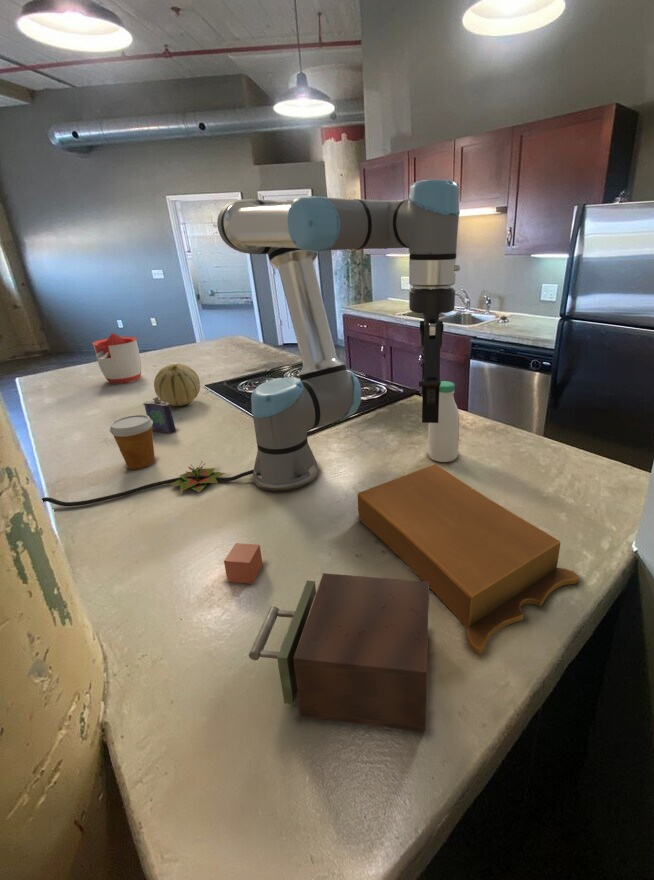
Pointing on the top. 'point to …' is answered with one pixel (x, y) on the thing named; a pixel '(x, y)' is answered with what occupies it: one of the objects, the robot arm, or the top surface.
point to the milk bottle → (445, 427)
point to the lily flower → (197, 483)
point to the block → (243, 563)
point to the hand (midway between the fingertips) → (429, 406)
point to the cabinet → (365, 652)
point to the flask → (160, 415)
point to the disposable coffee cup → (134, 440)
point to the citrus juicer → (118, 358)
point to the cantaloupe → (177, 384)
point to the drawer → (286, 640)
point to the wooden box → (465, 548)
